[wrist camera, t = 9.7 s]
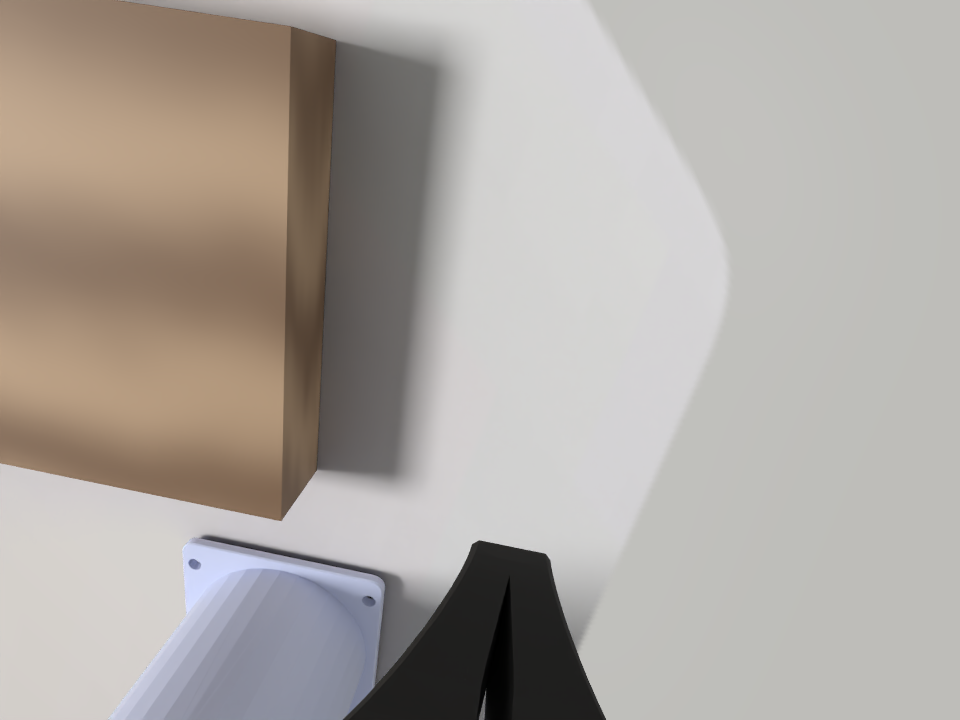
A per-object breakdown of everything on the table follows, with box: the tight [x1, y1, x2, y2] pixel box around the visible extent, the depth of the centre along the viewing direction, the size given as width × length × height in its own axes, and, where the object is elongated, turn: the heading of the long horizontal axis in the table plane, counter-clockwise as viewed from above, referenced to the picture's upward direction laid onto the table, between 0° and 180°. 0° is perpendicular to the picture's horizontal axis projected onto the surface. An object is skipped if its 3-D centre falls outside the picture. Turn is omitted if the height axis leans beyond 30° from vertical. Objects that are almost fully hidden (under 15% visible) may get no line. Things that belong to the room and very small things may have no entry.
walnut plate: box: [0, 0, 336, 521], centre depth 19 cm, size 14×12×3 cm
